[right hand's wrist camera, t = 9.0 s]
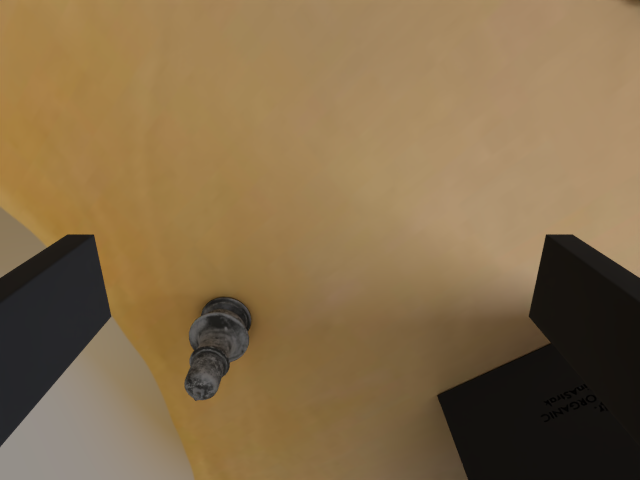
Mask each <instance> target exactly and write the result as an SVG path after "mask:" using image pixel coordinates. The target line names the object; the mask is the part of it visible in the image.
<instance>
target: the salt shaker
mask: <svg viewBox="0 0 640 480" xmlns="http://www.w3.org/2000/svg"><path fill="white" fill-rule="evenodd" d="M250 326H251V316H250V313H249V311H248V309H247V308H246V307H245V306H244V305H243V304H242V303H241V302H239V301H238V300H235V299H232V298H227V297H222V298H216V299H214V300H211V301H210V302H209V303H207V304H206V306H205V307H204V308H203V311H202V314H201V316H200V317H199V318H198V319H196V320H195V321H194V323H193V324H192V326H191V328H190V331H189V340H190V344H191V346H192V348H193V349H194V352H193V353H192V354H191V357H190V366H191V367H190V369H189V372H188V374H187V376H186V379H185V389H186V391H187V393H188V394H189V395H190V396H191V397H193V398H194V400H195V401H197V400H206V399H209V398H211V397H213V396H214V395H215V393H216V392H217V390H218V387H219V384H220V381H221V378H222V377H223V376H224V375H226V373H227V372H228V370H229V367H230V362H232V361H235V360H237V359H238V358H240V357H241V356H242V355H243V354H244V353H245V351H246V350H247V347H248V345H249V335H248V330H249V328H250Z"/></svg>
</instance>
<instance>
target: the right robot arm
mask: <svg viewBox="0 0 640 480" xmlns="http://www.w3.org/2000/svg"><path fill="white" fill-rule="evenodd" d="M110 317H111V313H110V308H109V304H108V299H107V294H106V289H105V285H104V280H103V275H102V270H101V266H100V261H99V256H98V252H97V247H96V242H95V237H94V235H66V236H65V237H63V238H61V239H60V240H58V241H57V242H55V243H54V244H52V245H51V246H49V247H48V248H46V249H44V250H43V251H41V252H40V253H38V254H37V255H35V256H34V257H32V258H31V259H29V260H27V261H26V262H24V263H23V264H21V265H20V266H18V267H17V268H15V269H14V270H12V271H10V272H9V273H7V274H6V275H4V276H3V277H1V278H0V446H1V445H2V444H3V443H4V442H5V441H6V439H7V438H8V437H9V436H10V435H11V434H12V432H13V431H14V430H15V429H16V428H17V426H18V425H19V424H20V423H21V422H22V421H23V419H24V418H25V417H26V416H27V415H28V414H29V412H30V411H31V410H32V409H33V408H34V407H35V405H36V404H37V403H38V402H39V401H40V400H41V398H42V397H43V396H44V395H45V394H46V392H47V391H48V390H49V389H50V388H51V387H52V385H53V384H54V383H55V382H56V381H57V380H58V378H59V377H60V376H61V375H62V374H63V372H64V371H65V370H66V369H67V368H68V367H69V365H70V364H71V363H72V362H73V361H74V360H75V358H76V357H77V356H78V355H79V354H80V353H81V351H82V350H83V349H84V348H85V347H86V346H87V344H88V343H89V342H90V341H91V340H92V338H93V337H94V336H95V335H96V334H97V333H98V331H99V330H100V329H101V328H102V327H103V326H104V324H105V323H106V322H107V321H108V320H109V319H110ZM529 317H530V319H531V320H532V321H533V322H534V323H535V324H536V326H537V327H538V328H539V329H540V330H541V331H542V333H543V334H544V335H545V336H546V337H547V338H548V340H549V341H550V342H551V343H552V344H553V346H554V347H555V348H556V349H557V350H558V351H559V353H560V354H561V355H562V356H563V357H564V358H565V360H566V361H567V362H568V363H569V364H570V365H571V367H572V368H573V369H574V370H575V371H576V373H577V374H578V375H579V376H580V377H581V378H582V380H583V381H584V382H585V383H586V384H587V385H588V387H589V388H590V389H591V390H592V391H593V392H594V394H595V395H596V396H597V397H598V398H599V400H600V401H601V402H602V403H603V404H604V405H605V407H606V408H607V409H608V410H609V411H610V412H611V414H612V415H613V416H614V417H615V418H616V419H617V421H618V422H619V423H620V424H621V425H622V427H623V428H624V429H625V430H626V431H627V432H628V434H629V435H630V436H631V437H632V438H633V439H634V441H635V442H636V443H637V444H638V445H639V447H640V278H639V277H637V276H636V275H634V274H633V273H631V272H630V271H628V270H626V269H625V268H623V267H622V266H620V265H619V264H617V263H616V262H614V261H613V260H611V259H609V258H608V257H606V256H605V255H603V254H602V253H600V252H599V251H597V250H596V249H594V248H592V247H591V246H589V245H588V244H586V243H585V242H583V241H582V240H580V239H579V238H577V237H575V236H574V235H546V237H545V242H544V247H543V252H542V256H541V261H540V266H539V270H538V275H537V280H536V285H535V289H534V294H533V299H532V304H531V308H530V313H529Z"/></svg>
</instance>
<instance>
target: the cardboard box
mask: <svg viewBox="0 0 640 480" xmlns="http://www.w3.org/2000/svg"><path fill="white" fill-rule="evenodd" d="M438 399H439V402H440V404H441V407H442V410H443V412H444V415H445V418H446V421H447V423H448V426H449V429H450V431H451V434H452V437H453V440H454V442H455V445H456V448H457V450H458V453H459V456H460V459H461V461H462V464H463V467H464V469H465V472H466V475H467V478H468V480H640V447H639V445H638V444H637V443H636V442H635V441H634V439H633V438H632V437H631V436H630V435H629V434H628V432H627V431H626V430H625V429H624V428H623V427H622V425H621V424H620V423H619V422H618V421H617V419H616V418H615V417H614V416H613V415H612V414H611V412H610V411H609V410H608V409H607V408H606V407H605V405H604V404H603V403H602V402H601V401H600V400H599V398H598V397H597V396H596V395H595V394H594V392H593V391H592V390H591V389H590V388H589V387H588V385H587V384H586V383H585V382H584V381H583V380H582V378H581V377H580V376H579V375H578V374H577V373H576V371H575V370H574V369H573V368H572V367H571V365H570V364H569V363H568V362H567V361H566V360H565V358H564V357H563V356H562V355H561V354H560V353H559V351H558V350H557V349H556V348H555V347H554V346H553V344H550V345H548V346H546V347H543V348H541V349H539V350H537V351H535V352H532V353H530V354H528V355H526V356H524V357H521V358H519V359H517V360H515V361H513V362H510V363H508V364H506V365H504V366H502V367H499V368H497V369H495V370H493V371H491V372H488V373H486V374H484V375H482V376H480V377H477V378H475V379H473V380H471V381H469V382H466V383H464V384H462V385H460V386H458V387H455V388H453V389H451V390H449V391H447V392H445V393H442V394H440V395H438Z"/></svg>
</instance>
